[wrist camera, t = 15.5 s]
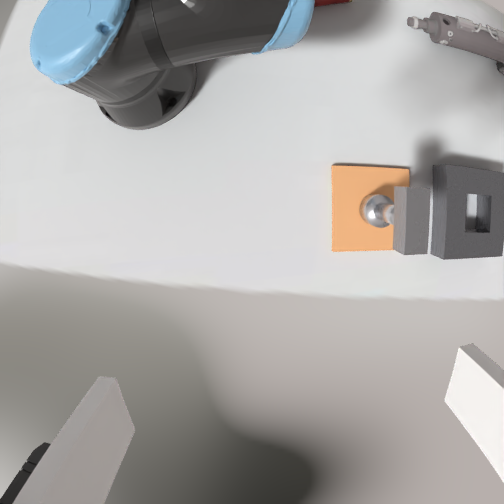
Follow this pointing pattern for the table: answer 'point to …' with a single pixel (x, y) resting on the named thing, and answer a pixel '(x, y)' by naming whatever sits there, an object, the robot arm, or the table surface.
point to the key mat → (348, 201)
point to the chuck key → (401, 217)
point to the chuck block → (454, 212)
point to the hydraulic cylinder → (463, 35)
